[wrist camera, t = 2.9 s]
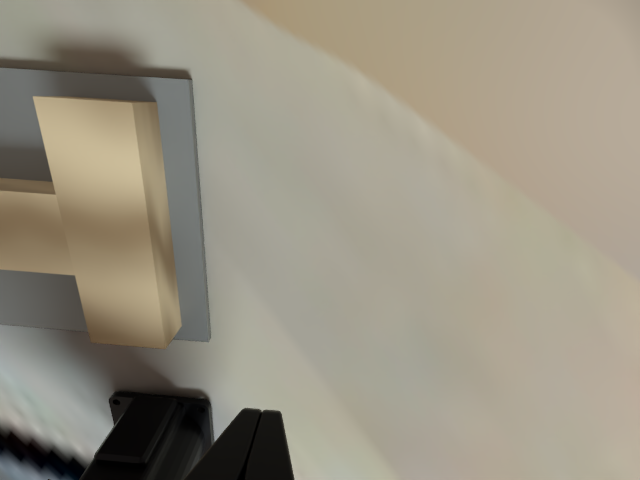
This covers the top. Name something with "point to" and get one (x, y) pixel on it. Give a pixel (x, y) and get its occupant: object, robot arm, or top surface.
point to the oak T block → (99, 217)
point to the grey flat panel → (32, 164)
